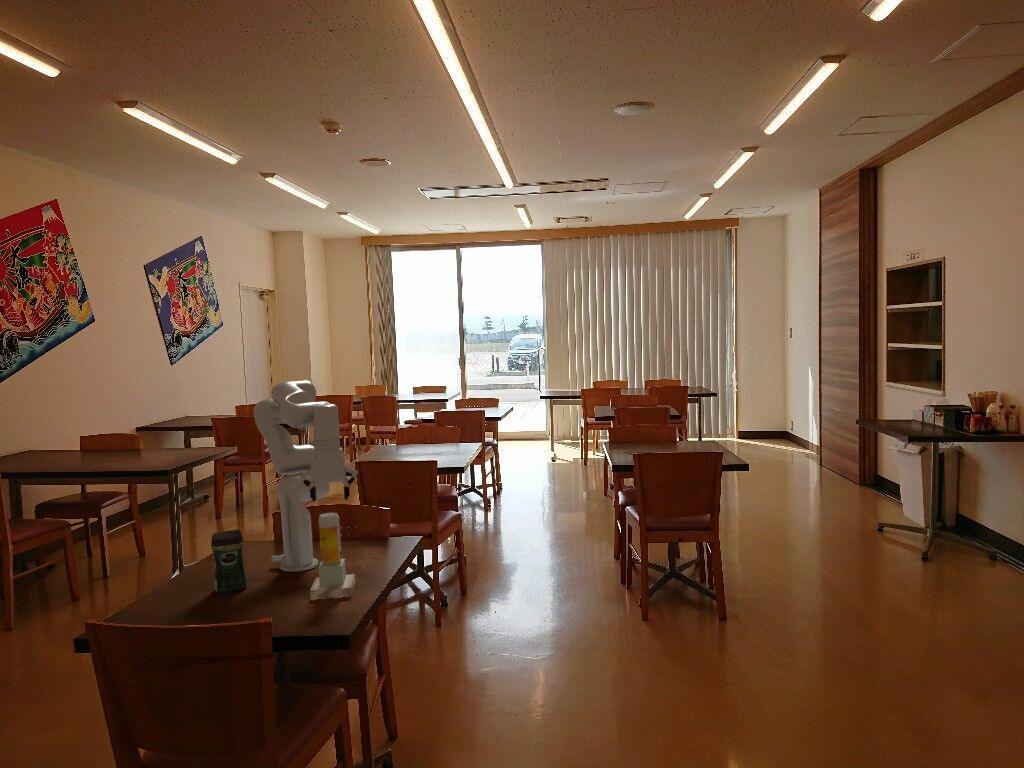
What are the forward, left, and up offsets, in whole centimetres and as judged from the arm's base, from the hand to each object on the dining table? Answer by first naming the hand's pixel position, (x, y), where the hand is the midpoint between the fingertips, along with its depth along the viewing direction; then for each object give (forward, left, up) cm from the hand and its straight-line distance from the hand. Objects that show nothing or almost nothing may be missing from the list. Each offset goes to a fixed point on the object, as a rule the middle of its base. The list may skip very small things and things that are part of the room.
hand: (330, 499), depth 226 cm
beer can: (0, -2, -19) cm, 19 cm away
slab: (0, -3, -28) cm, 28 cm away
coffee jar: (-33, +7, -28) cm, 44 cm away
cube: (0, -3, -25) cm, 25 cm away
